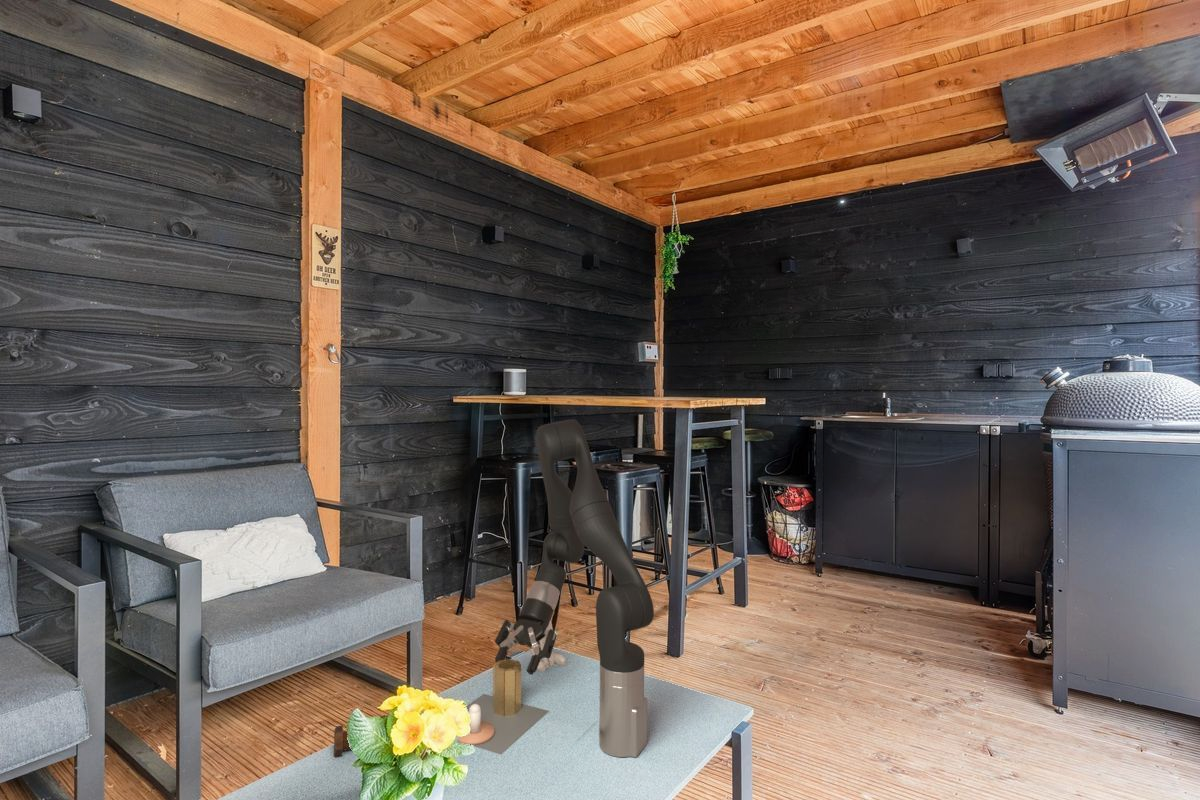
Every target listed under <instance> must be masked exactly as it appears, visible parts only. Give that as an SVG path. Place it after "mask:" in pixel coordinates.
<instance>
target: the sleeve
mask: <svg viewBox="0 0 1200 800" xmlns="http://www.w3.org/2000/svg"><path fill="white" fill-rule="evenodd" d="M492 667H493V668H492V671H493V672H492V675H493V676H492V681H493V682H492V696H493V710H494V713H495V714H498V715H501V716H509V715H515V714H517V713H518V712H519V711H520V710H521V704H522V664H521V662H520V661H519V660H516V659H510V658H508V659H507V658H506V659H505V660H500V661H498V662H496V661H495V663H493V666H492Z"/></svg>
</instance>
